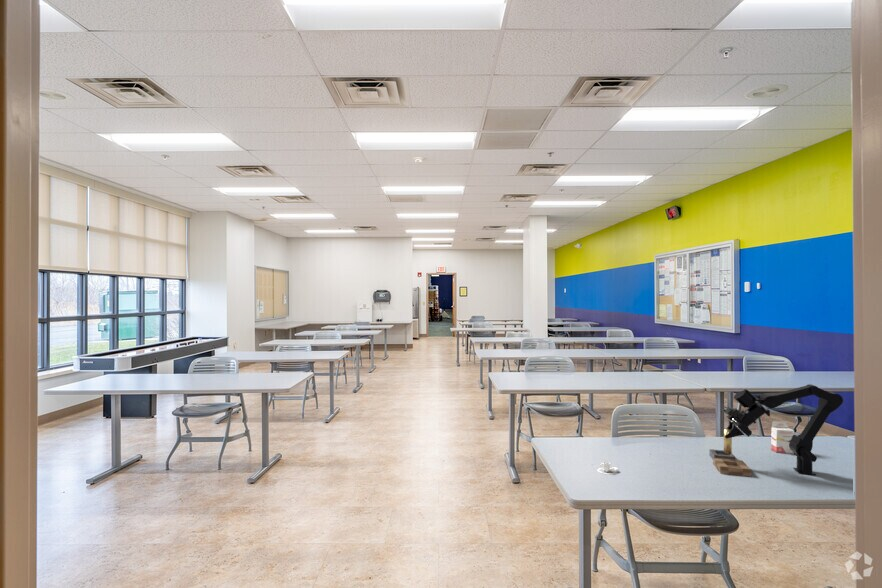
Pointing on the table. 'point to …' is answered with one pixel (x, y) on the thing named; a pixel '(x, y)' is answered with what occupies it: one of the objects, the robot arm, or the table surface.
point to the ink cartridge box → (781, 437)
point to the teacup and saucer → (607, 468)
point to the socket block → (720, 454)
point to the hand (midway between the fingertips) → (724, 436)
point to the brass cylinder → (727, 443)
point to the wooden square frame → (731, 467)
